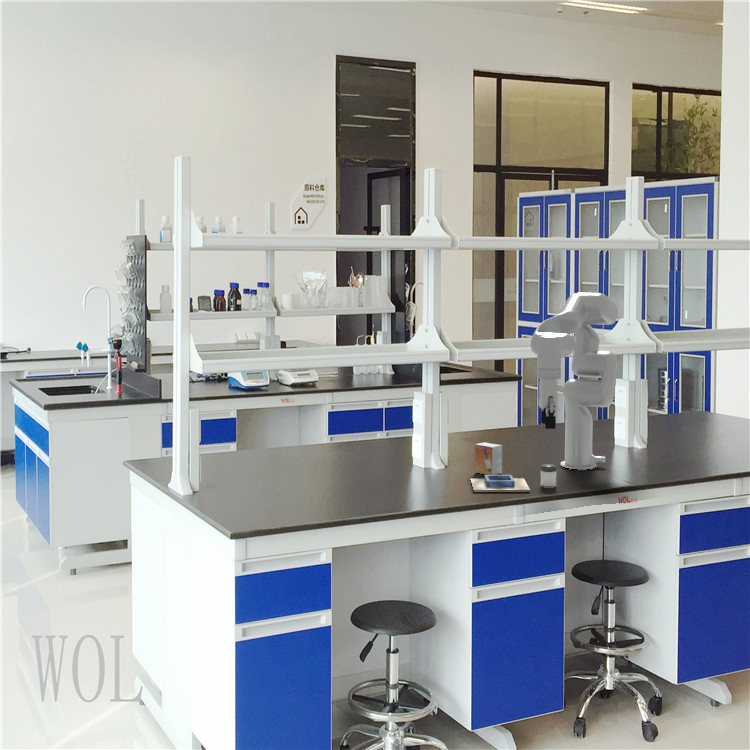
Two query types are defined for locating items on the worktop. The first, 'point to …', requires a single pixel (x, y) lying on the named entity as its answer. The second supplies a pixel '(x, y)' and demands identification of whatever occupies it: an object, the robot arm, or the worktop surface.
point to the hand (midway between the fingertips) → (548, 425)
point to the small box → (488, 458)
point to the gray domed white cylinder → (548, 475)
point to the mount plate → (499, 483)
